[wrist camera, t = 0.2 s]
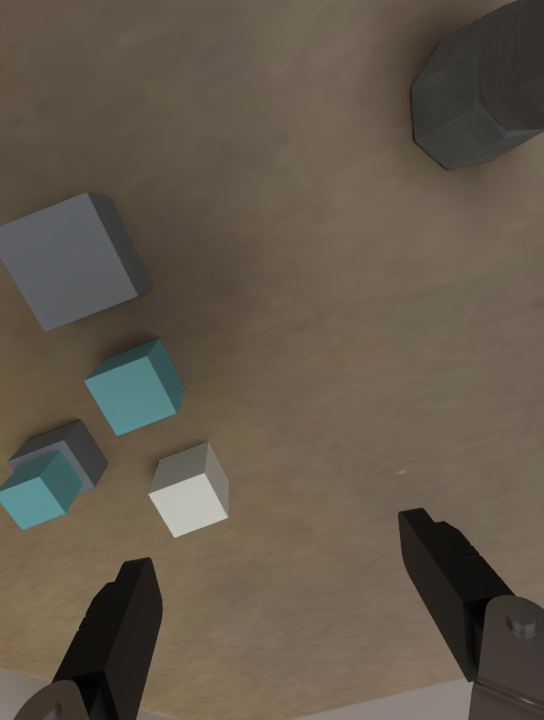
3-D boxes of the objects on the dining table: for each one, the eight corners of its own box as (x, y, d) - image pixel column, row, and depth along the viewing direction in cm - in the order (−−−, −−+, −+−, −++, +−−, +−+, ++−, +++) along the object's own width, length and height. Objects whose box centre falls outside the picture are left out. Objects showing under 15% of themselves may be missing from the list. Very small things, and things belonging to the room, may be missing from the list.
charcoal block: (25, 232, 28) (-16, 232, 24) (111, 198, 28) (86, 191, 23) (73, 317, 31) (44, 332, 26) (152, 286, 30) (138, 296, 26)
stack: (29, 439, 34) (-21, 490, 27) (80, 419, 33) (42, 465, 27) (59, 482, 35) (19, 539, 29) (108, 463, 35) (79, 517, 28)
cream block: (159, 459, 36) (148, 494, 31) (208, 441, 35) (204, 472, 31) (182, 499, 37) (174, 537, 33) (228, 481, 37) (228, 517, 32)
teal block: (105, 358, 32) (83, 380, 27) (159, 337, 32) (147, 356, 27) (133, 407, 34) (117, 436, 29) (184, 387, 34) (176, 413, 29)
